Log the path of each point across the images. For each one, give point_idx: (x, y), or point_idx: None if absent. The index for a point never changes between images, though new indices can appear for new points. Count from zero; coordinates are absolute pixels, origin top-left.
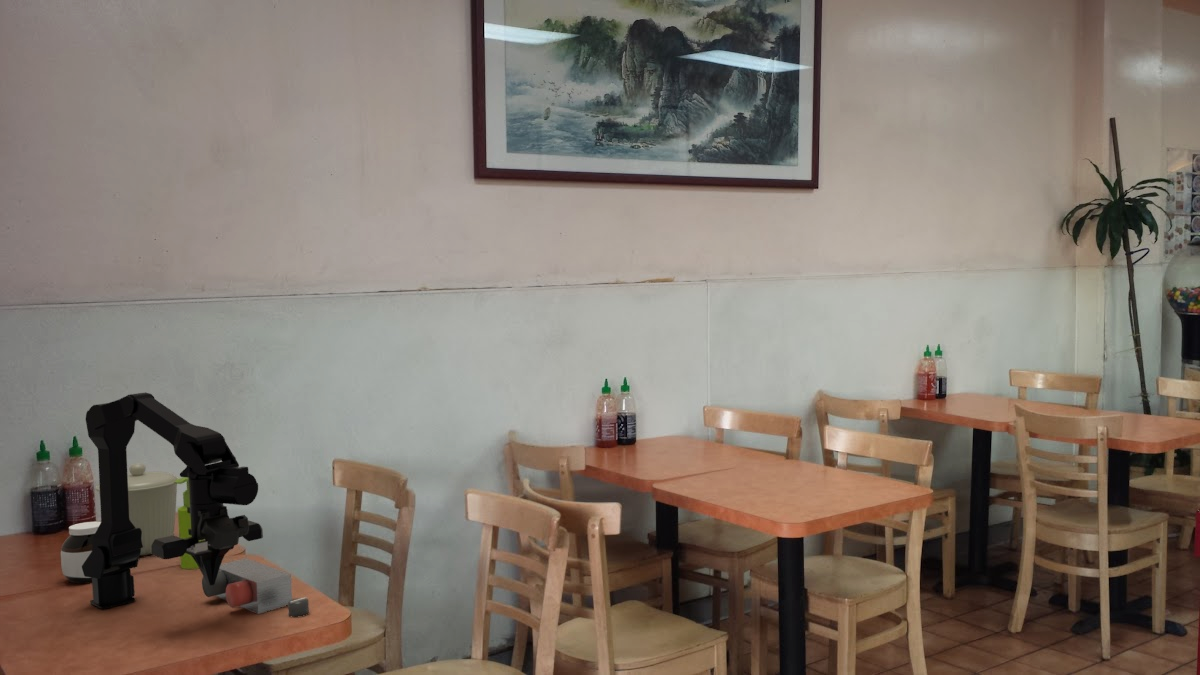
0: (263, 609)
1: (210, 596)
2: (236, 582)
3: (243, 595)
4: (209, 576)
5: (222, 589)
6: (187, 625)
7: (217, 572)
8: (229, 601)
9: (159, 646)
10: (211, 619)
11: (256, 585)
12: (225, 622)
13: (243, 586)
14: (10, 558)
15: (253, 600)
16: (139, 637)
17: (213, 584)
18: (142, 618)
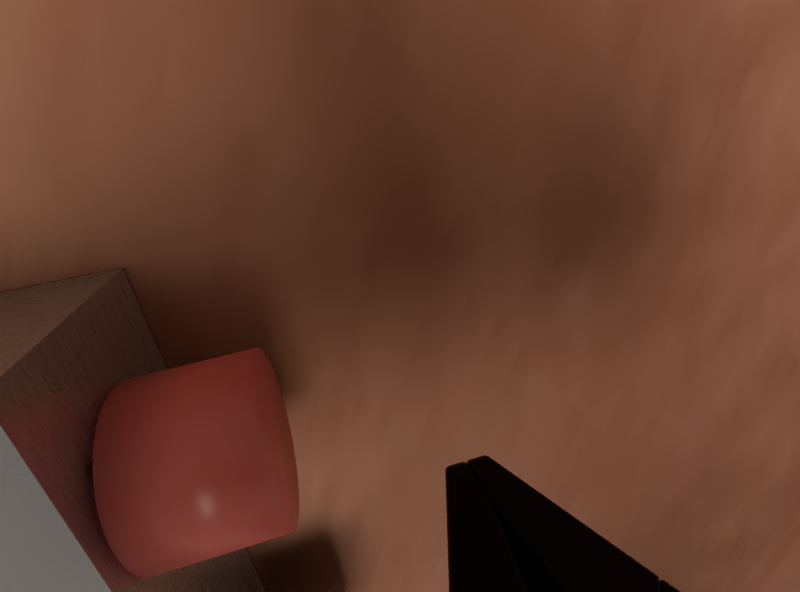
0: (69, 284)
1: (340, 589)
2: (210, 535)
3: (186, 379)
4: (545, 518)
5: None
6: (517, 319)
7: (458, 572)
8: (285, 427)
9: (738, 70)
10: (397, 341)
11: (6, 379)
12: (349, 240)
13: (159, 456)
14: None
15: (117, 359)
16: (716, 283)
17: (455, 465)
18: (601, 505)
